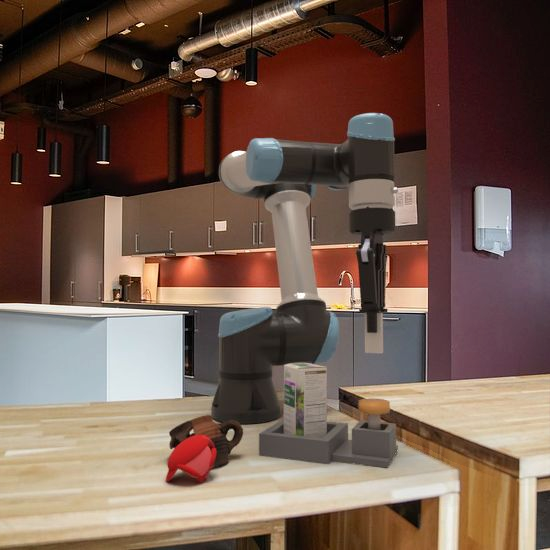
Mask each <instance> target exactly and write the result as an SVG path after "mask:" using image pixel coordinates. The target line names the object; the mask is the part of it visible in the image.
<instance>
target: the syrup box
mask: <svg viewBox="0 0 550 550" xmlns="http://www.w3.org/2000/svg"><path fill="white" fill-rule="evenodd" d="M327 367H328V366H324V365H318V364H311V363H290V364H286V365H283V419H284V434H290V435H299V436H308V437H318V438H323V437H324V436H325V435H326V434H327V422H328V420H327V417H328V412H327V411H328V409H327V407H328V403H327V402H328V401H327V400H328V399H327V398H328V397H327V396H328V393H327V392H328V390H327V389H328V387H327V386H328V385H327V384H328V382H327V379H328V378H327V377H328V376H327V375H328V372H327V369H328V368H327Z"/></svg>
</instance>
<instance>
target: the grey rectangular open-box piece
mask: <svg viewBox="0 0 550 550" xmlns="http://www.w3.org/2000/svg"><path fill="white" fill-rule="evenodd" d="M380 427H381V430H374V429H368V420H362V419H361V420H359V421H358V422H357V423H356V424H355V425H354V426H353V427H352V428H351V439H350V440H349V423H345V422H336V421H327V434H326V435H325V436H324V437H323V438H318V437H308V436H299V435H290V434H284V418H282V419H281V420H279V421H278V422H276V423H275V424H273V425H271V426H269V427H267V428H266V429H265V430H263V431H261V432H260V433H258V455H259V456H264V457H271V458H279V459H287V460H288V459H289V460H296V461H303V462H309V463H312V462H313V463H319V464H327V465H329V464H331V463H332V462H335V461H336V463H337V462H338V463H343V462H347V463H346V464H351V463H355V464H354V465H359V464H363V465H362V466H368V465H370V466H369V467H376V466H380V467H379V468H384V467H388V466H389V467H390V465H391V464H390V463H392V462H393V460H394V459H393V457H394V455H395V453H396V452H397V450H398V451H399V445H398V444H397V423H394V422H382V421H380ZM397 453H398V452H397ZM395 456H396V455H395ZM394 458H395V457H394ZM392 459H393V460H392ZM391 461H392V462H391ZM389 467H388V468H389Z"/></svg>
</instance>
